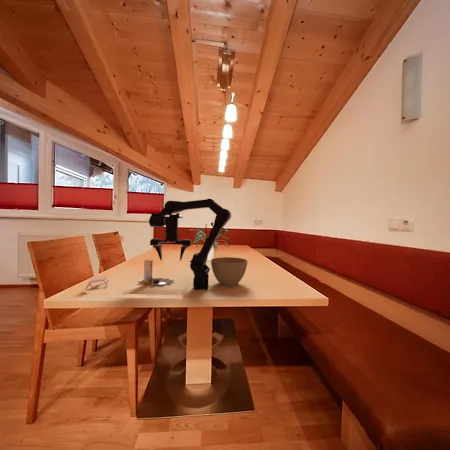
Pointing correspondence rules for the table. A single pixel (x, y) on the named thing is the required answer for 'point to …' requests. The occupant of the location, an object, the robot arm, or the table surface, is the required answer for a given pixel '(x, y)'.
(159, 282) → the sprocket plate
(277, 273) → the table surface
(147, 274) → the drive pin
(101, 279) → the origami figure
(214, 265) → the flower pot
